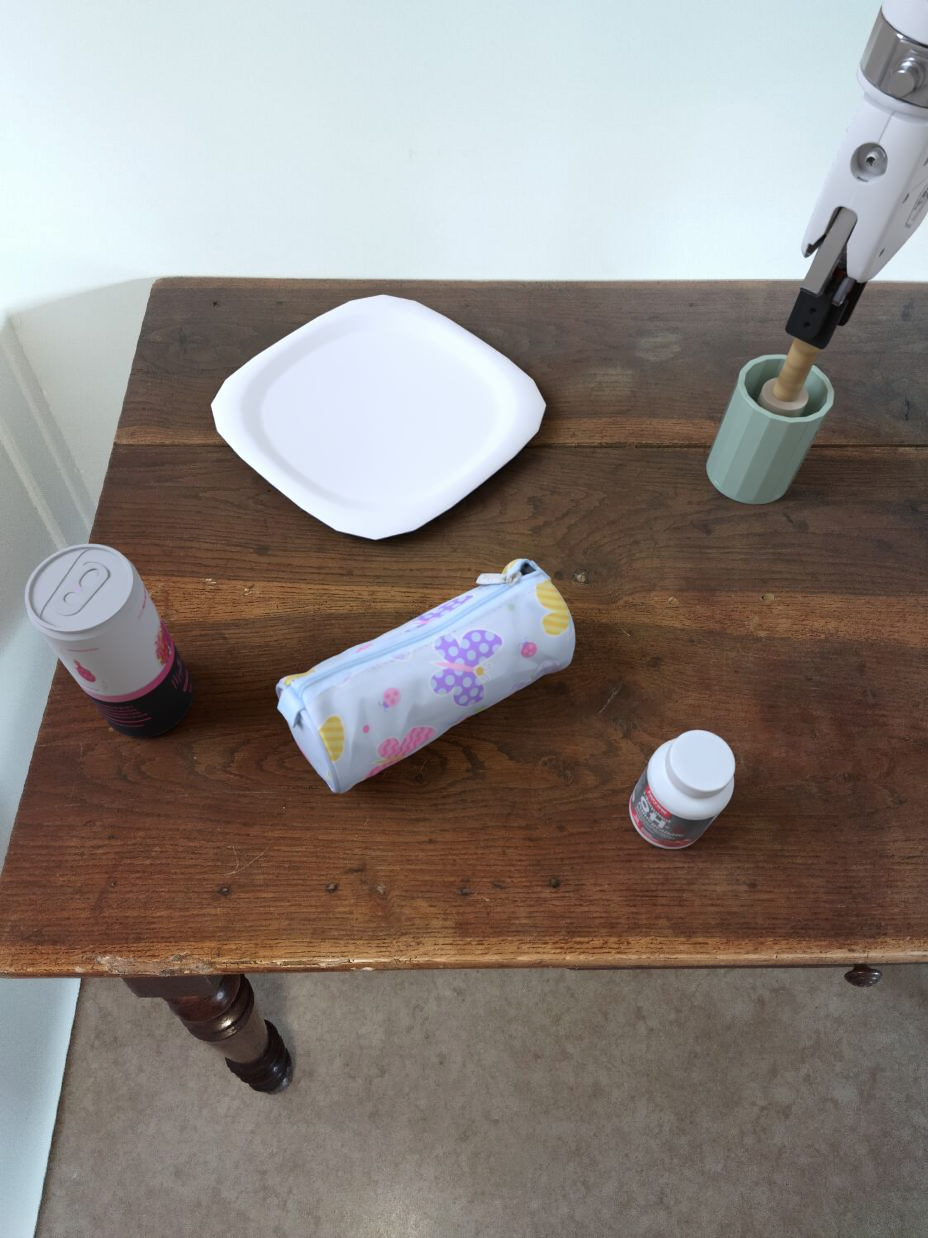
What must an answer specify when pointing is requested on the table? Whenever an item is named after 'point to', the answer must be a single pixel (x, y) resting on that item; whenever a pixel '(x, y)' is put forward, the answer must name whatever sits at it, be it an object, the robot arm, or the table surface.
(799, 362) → the wooden rod
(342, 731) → the pencil case
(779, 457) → the cup
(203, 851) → the table surface
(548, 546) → the table surface
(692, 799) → the pill bottle
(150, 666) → the beverage can
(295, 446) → the plate
